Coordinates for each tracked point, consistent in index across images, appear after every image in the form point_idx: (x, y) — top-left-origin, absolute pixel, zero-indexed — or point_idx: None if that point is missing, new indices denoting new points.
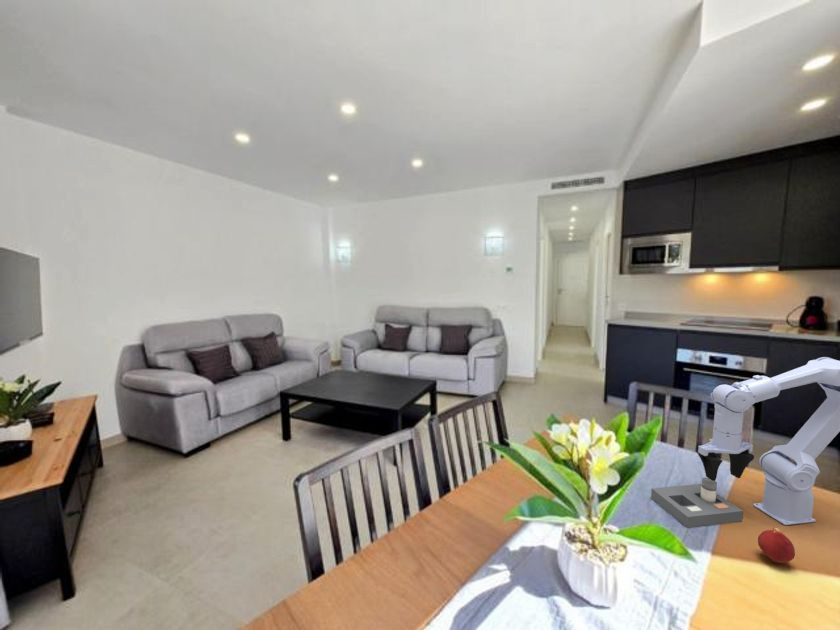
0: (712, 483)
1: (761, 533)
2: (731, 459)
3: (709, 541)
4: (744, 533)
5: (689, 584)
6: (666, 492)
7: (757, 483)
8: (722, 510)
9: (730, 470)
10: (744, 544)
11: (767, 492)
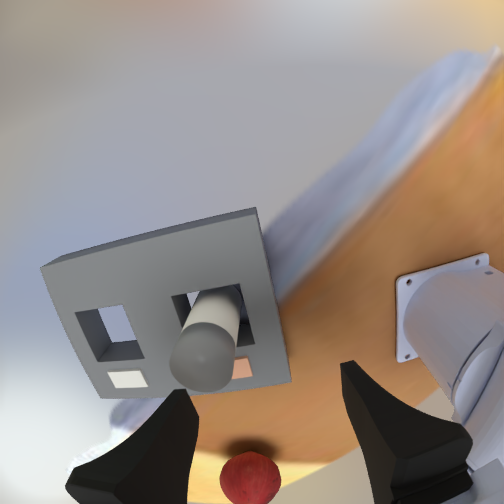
0: (203, 385)
1: (229, 484)
2: (369, 425)
3: (145, 414)
4: (253, 397)
5: (83, 458)
6: (75, 291)
7: (500, 146)
8: None
9: (344, 374)
10: (222, 424)
11: (435, 348)
